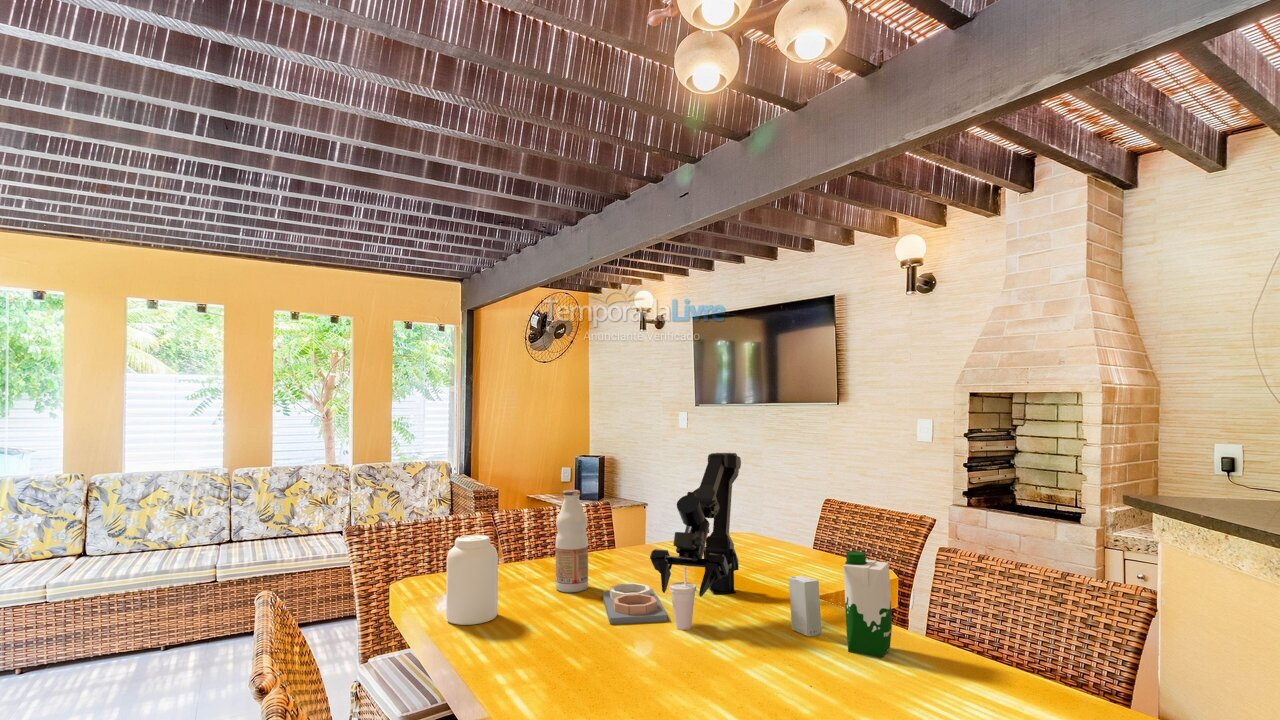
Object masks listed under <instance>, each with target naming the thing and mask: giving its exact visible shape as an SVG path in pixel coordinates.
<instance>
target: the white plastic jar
mask: <svg viewBox="0 0 1280 720" xmlns="http://www.w3.org/2000/svg"><path fill="white" fill-rule="evenodd" d="M498 579H499V555H498V551H497V548H496V547H495V546H494V545H493V544H492V543H491V538H490V537H489V535H485V534H467V535H461V536H458V537H456V538H455V541H454V546H453V547H451V549H449V550H448V551H447V556H446V582H445V583H446V585H445V586H446V592H445V594H446V597H445V599H446V600H445V601H446V602H445V617H446V620H447V622H448V623H450V624H454V625H460V626H472V625H480V624H485V623H487V622H489V621H493V620H494V619H496V617H497V616H498V612H499V608H498V607H499V606H498V603H499V596H498V595H499V591H498V590H499V580H498Z"/></svg>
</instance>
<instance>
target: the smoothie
mask: <svg viewBox="0 0 1280 720" xmlns="http://www.w3.org/2000/svg"><path fill="white" fill-rule="evenodd" d="M668 590H669V591H670V592H671V593H670V594H671V600H672V610H673V616H674V623H675V628H676V629H677V630H681V631H685V630H688V631H689V630H691V629H692V626H693V625H692V624H693V616H694V606H695V596H696V591H697V584H695V583H692V582H687V566H683V581H681V582H678V581H677V582H674V583H673V582H672V583H670V585H669V589H668Z"/></svg>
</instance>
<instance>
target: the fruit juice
mask: <svg viewBox="0 0 1280 720" xmlns="http://www.w3.org/2000/svg"><path fill="white" fill-rule="evenodd" d="M580 491H581V490H579V489H567V490H563V492H562V495H563V502H562V504H561V508H560V511H559V513H558V515H557V517H556V519H555V525H556V530H557V534H556V537H555V588H556V590H557V591H559V592H561V593H577V592H583V591H586V590H587V589H588V586H589V539H588V534H587V526H588V518H587V514H585V511H584V509H583V506H582V503H581V500H580V496H581V492H580Z"/></svg>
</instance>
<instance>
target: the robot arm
mask: <svg viewBox="0 0 1280 720" xmlns="http://www.w3.org/2000/svg"><path fill="white" fill-rule="evenodd" d="M741 467H742V460H741V456H739V455H738V454H737V453H736V452H714V453H713V452H712V453H709V454H708V455H707V465H706V467H705V470H704V472H703V473H704V474H703V476H702V478H701V479H702V480H701V482H700V485H699V487H698V488H696V489H695V490H693V491H687V493H686V495H683V496H681V498H678V499H679V500H678V501H677V502H676V509H677V511H678V513H679V516H680V518H681V520H682V523H683V525H685V529H684V531H682V532H681V531H675V532H674V536H673V537H674V538H673V546H674V547H676V548H675V552H676V554H678V555H677V556H675V555H670V553H669V551H668V549H656V548H654V549H653V550H652V551H651V552H650V556H649V558H650V562H651V563H652V566H653V568H654V570H656V571H657V572H658V573H659V574H660V580H661V581H660V582H661V590H662V593H663V594H665V593H666V591H667V588H668V585H669V583H670V577H671V574H672V573H671V570H672V566H683V567H693V568H704V573H703V577H702V579H701V580H702V581H701V584H700V587H699V592H698V593H699V594H698V595H699V597H703V596H704V595H705V593H706V592H707V591H708V590H710V591H711V593H712V594H715V595H718V594H721V595H722V594H736V593H737V590H736V589H735V573H734V572H735V571H739V570H740V568H739V567H740V566H739V558H738V556H737V553H736V550H735V544H734V541H733V539H732V538H731V535H730V526H731V525H730V523H731V509H732V508H731V507H732V491H733V483H734V482H735V481H736V479H738V477H739V472H740V469H741ZM708 519H713V524H712V525H713V526H712V532H711V533H710V522H709V520H708ZM708 534H710V535H708Z"/></svg>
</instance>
